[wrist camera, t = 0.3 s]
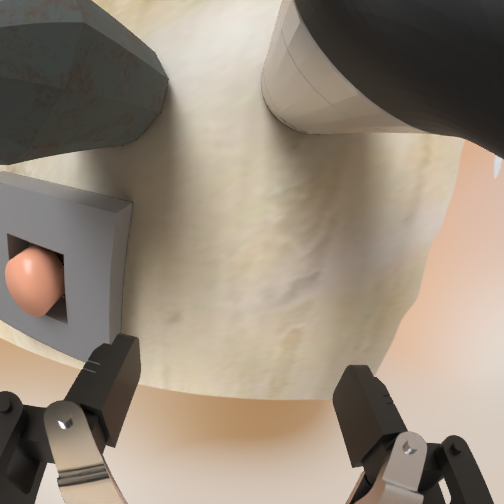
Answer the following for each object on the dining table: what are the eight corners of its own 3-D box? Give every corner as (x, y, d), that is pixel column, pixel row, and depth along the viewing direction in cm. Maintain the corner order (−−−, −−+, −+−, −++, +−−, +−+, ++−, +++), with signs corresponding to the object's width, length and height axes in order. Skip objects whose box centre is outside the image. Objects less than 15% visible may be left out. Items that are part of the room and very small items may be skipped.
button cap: (22, 237, 24) (1, 250, 20) (66, 253, 25) (46, 269, 21) (27, 288, 26) (9, 304, 23) (68, 306, 27) (52, 325, 24)
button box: (2, 171, 22) (-19, 177, 19) (133, 202, 25) (116, 213, 21) (11, 304, 30) (-3, 318, 26) (120, 351, 32) (110, 372, 29)
